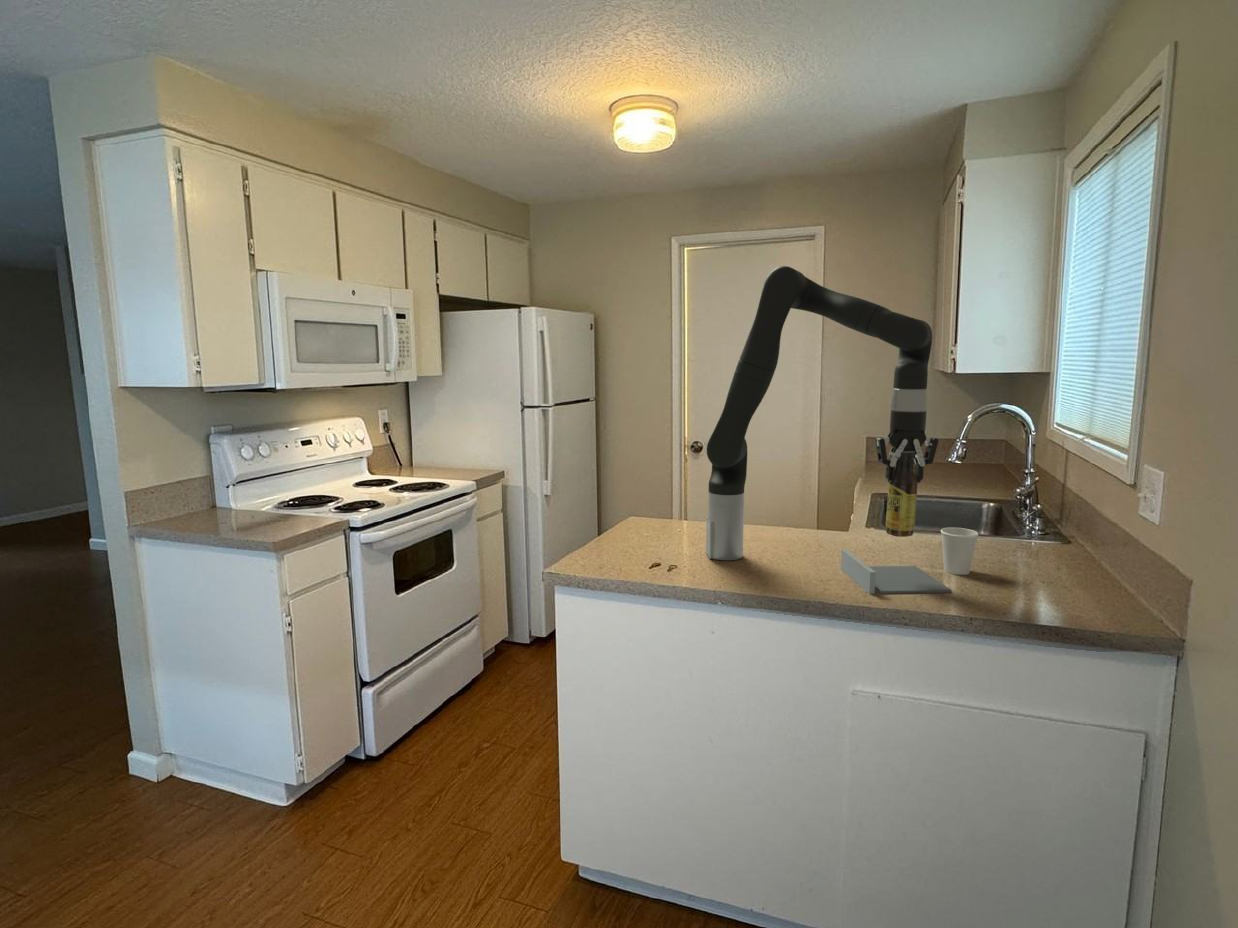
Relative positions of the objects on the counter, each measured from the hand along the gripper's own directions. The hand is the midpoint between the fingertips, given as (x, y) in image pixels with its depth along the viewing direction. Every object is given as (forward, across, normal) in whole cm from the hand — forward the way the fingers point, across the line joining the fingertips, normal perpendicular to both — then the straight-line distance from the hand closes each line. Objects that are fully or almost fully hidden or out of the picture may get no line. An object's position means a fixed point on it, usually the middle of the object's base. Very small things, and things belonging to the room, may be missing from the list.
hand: (904, 481), depth 163 cm
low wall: (+23, -10, 0) cm, 25 cm away
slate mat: (+23, 0, 0) cm, 23 cm away
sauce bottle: (+13, 0, 0) cm, 13 cm away
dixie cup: (+24, +17, +6) cm, 30 cm away
